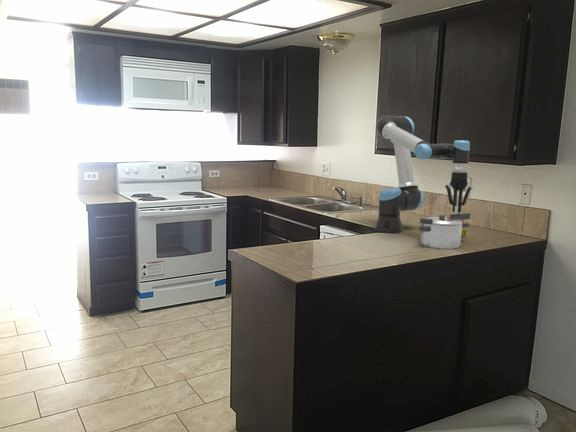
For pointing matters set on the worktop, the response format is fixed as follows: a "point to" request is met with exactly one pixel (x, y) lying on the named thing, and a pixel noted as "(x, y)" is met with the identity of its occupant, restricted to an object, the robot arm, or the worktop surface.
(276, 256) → the worktop surface
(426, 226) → the pot
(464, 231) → the bird rattle
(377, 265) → the worktop surface
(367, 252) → the worktop surface
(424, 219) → the lid
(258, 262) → the worktop surface
